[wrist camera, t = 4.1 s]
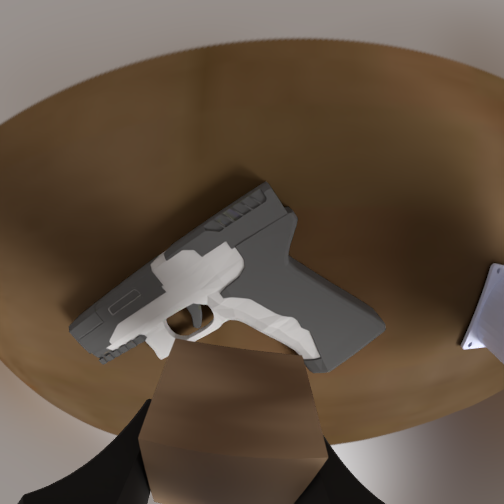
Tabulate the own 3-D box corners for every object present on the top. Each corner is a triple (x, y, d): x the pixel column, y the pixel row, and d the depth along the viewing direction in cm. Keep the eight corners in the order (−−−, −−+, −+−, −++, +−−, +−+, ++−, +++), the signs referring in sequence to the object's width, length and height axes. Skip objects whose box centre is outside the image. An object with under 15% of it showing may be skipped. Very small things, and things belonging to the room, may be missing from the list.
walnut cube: (302, 355, 11) (328, 457, 6) (275, 430, 12) (283, 515, 7) (175, 338, 10) (138, 438, 6) (174, 417, 12) (154, 501, 7)
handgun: (391, 336, 16) (299, 163, 13) (174, 437, 19) (64, 329, 16) (376, 318, 18) (291, 164, 16) (179, 416, 21) (80, 313, 18)
